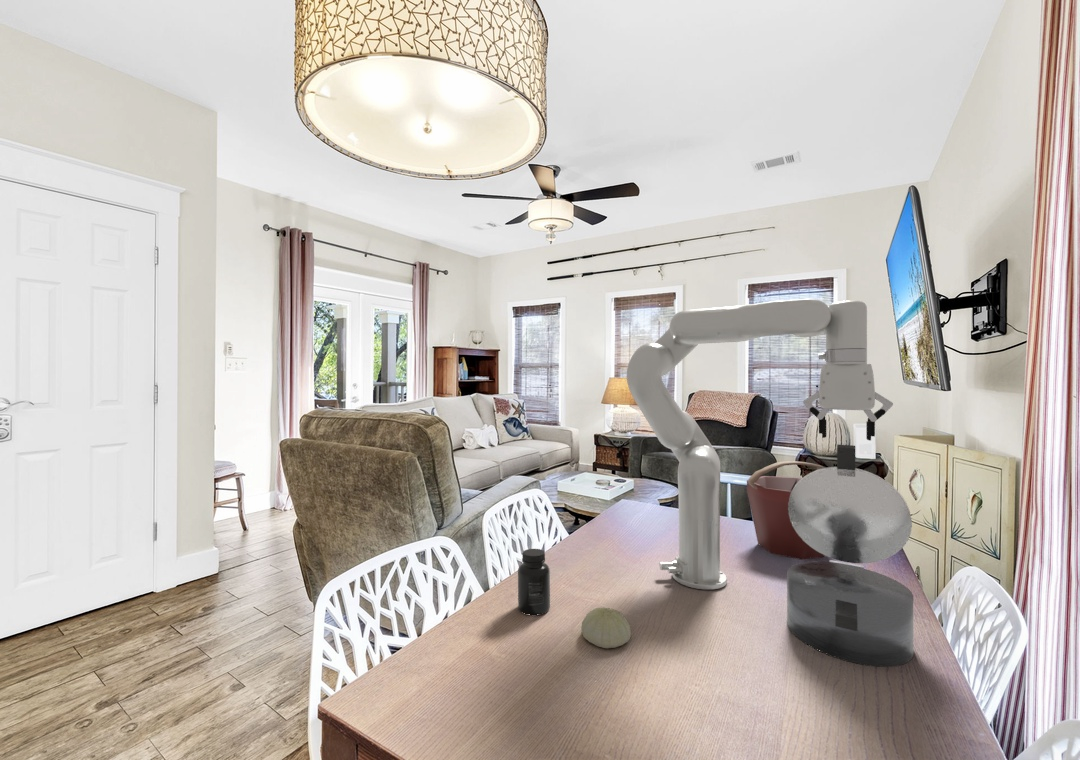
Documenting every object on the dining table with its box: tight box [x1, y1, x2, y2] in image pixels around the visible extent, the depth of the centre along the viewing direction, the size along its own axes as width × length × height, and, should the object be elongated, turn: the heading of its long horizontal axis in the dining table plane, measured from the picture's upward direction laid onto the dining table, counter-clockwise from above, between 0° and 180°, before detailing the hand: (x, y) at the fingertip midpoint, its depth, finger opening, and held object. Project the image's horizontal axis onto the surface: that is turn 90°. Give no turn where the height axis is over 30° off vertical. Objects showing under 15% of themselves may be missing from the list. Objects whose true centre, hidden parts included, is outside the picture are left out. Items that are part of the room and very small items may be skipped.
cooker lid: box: [788, 444, 913, 564], centre depth 95 cm, size 26×21×2 cm
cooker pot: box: [786, 559, 914, 668], centre depth 87 cm, size 27×20×10 cm
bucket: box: [746, 460, 827, 561], centre depth 134 cm, size 24×22×25 cm
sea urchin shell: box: [581, 607, 632, 649], centre depth 88 cm, size 9×8×8 cm
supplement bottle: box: [517, 548, 551, 616], centre depth 99 cm, size 7×7×12 cm
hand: (846, 437), depth 102 cm, fingers open, 7 cm apart
